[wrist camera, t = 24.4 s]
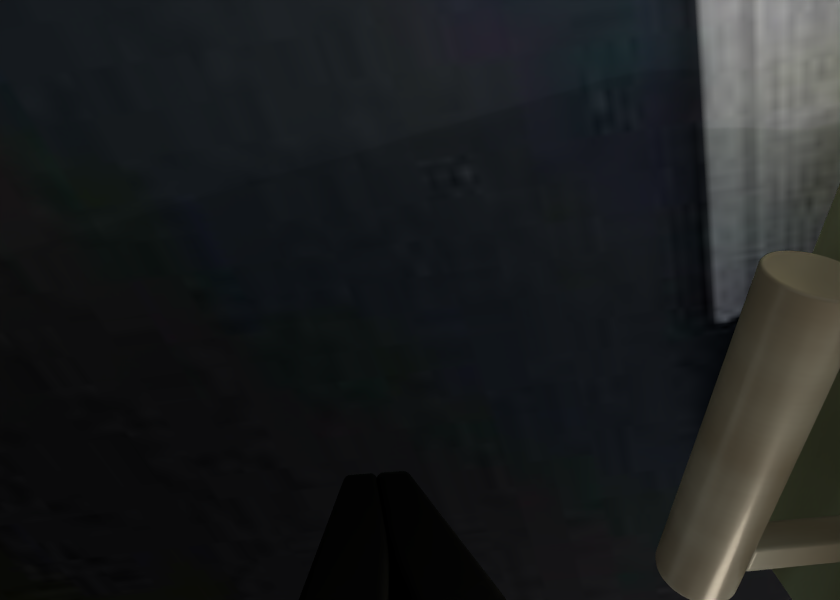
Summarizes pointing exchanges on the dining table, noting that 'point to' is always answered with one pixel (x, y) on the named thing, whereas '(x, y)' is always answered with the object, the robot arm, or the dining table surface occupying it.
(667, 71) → the dining table surface
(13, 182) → the dining table surface
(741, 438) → the drawer
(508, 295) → the dining table surface
